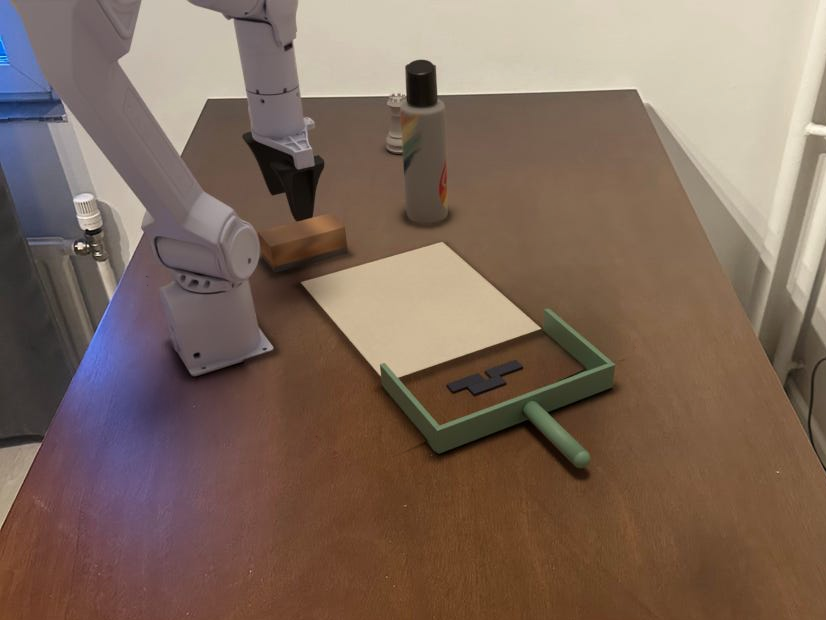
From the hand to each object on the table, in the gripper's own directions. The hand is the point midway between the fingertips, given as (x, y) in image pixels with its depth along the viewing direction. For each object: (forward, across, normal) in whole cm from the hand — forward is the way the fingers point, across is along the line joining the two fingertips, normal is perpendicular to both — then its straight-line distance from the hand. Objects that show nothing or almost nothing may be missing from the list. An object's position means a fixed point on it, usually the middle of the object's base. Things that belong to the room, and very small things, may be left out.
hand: (291, 205), depth 105 cm
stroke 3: (+9, -30, -11) cm, 34 cm away
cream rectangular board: (+9, -14, -9) cm, 19 cm away
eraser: (+9, +4, -2) cm, 10 cm away
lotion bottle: (+10, +6, -21) cm, 24 cm away
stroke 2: (+9, -32, -8) cm, 34 cm away
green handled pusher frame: (+9, -37, -9) cm, 39 cm away
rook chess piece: (+10, +28, -28) cm, 41 cm away
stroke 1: (+9, -30, -6) cm, 32 cm away
